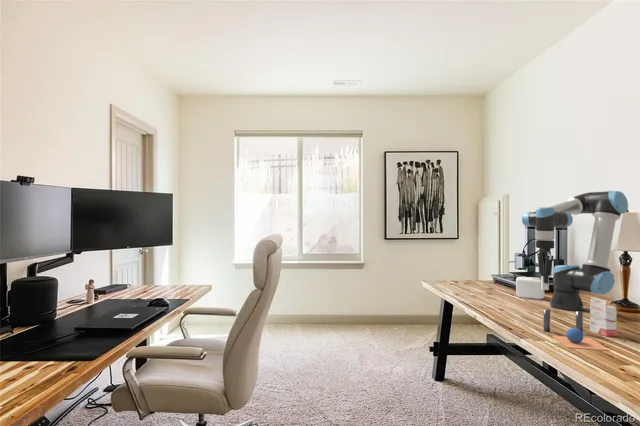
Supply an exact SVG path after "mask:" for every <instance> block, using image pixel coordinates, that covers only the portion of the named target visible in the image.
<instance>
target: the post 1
mask: <svg viewBox="0 0 640 426" xmlns="http://www.w3.org/2000/svg"><path fill="white" fill-rule="evenodd" d="M543 332H545V333H550V332H551V310H550V309H547V308H546V309H545V308H544V309H543Z"/></svg>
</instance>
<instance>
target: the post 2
mask: <svg viewBox="0 0 640 426" xmlns="http://www.w3.org/2000/svg"><path fill="white" fill-rule="evenodd" d="M583 315H584V311H582V310H581V311H575V328H576V329H579V330H580V331H581V332H582V333H583V334H584V316H583Z"/></svg>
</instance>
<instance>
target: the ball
mask: <svg viewBox="0 0 640 426" xmlns="http://www.w3.org/2000/svg"><path fill="white" fill-rule="evenodd" d="M565 335H566V336H565V337H567V338H568V340H570V341H571V342H573V343H579V342H581V341H582V340H583V338H584V332H583V333H582V332H581V331H580V330H579V329H576V327H571V328H569V329H567V331H566V332H565Z"/></svg>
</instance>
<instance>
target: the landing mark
mask: <svg viewBox="0 0 640 426" xmlns="http://www.w3.org/2000/svg"><path fill="white" fill-rule="evenodd" d="M551 337H552V338H554V339H555V340H556V341H558V342H559V343H560V344H561V345H563V346H564V347H566V348H567V349H578V350H579V349H580V350H582V349H583V350H594V351H595V350H597V351H609V352H610V351H611V350H610V349H609V348H608V347H606V346H604V345H603V344H601V343H599V342H597V341H595V340H594V339H593V338H591V337H583V340H582V341H581V342H579V343H573V342H571V341H570V340H568V338H567V336H563V335H551Z"/></svg>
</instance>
